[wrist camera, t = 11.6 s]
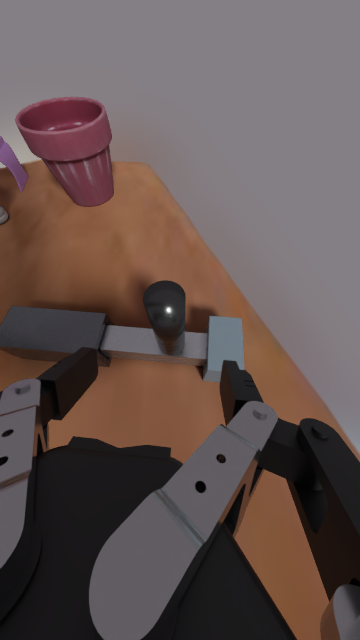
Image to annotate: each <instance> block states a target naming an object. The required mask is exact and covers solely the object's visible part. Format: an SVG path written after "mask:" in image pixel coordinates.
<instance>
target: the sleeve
mask: <svg viewBox="0 0 360 640" xmlns="http://www.w3.org/2000/svg"><path fill="white" fill-rule="evenodd" d="M105 325H113V326H115V325H114V324H113V323H112V321H111V320H110V318H109V317H108V316H107V314H106V313H94V312H82V311H69V310H57V309H45V308H33V307H20V306H11V308H10V310H9V312H8V313H7V315H6V317H5V318H4V320H3V322H2V323H1V325H0V350H2V351H5V352H8V353H10V354H13V355H15V356H18V357H20V358H23V359H33V360H43V361H53V362H59V361H60V360H61V359H63V358H64V357H67V356H69V355H71V354H74V353H75V352H76V351H77V350H79V349H80V348H81V347H89V348H95V349H96V351H97V350H98V347H99V344H100V340H101V337H102V334H103V331H104V328H105ZM111 358H112V357H104V356H103V355H102V354H100V353H99V352H98V351H97V363H98V366H103V367H109V365H110V362H111Z"/></svg>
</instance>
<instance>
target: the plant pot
mask: <svg viewBox="0 0 360 640" xmlns="http://www.w3.org/2000/svg"><path fill="white" fill-rule="evenodd" d="M15 122H16V124H17V127H18V129H19V131H20V133H21V134H22V136H23V138H24V140H25V141H26V143H27V145H28V147H29V149H30V150H31V152H32V153H33V154H34V155H36V156H37V157H39V158H41V159H42V160H43V161H44V163H45V164H46V166H47V167H48V168H49V170H50V171H51V172H52V174H53V175H54V176H55V178H56V179H57V180H58V182H59V183H60V185H61V186H62V187H63V188H64V190H65V191H66V192H67V194H68V195H69V196H70V198H71V199H72V200H73V202H74V203H76V204H77V205H80V206H85V207H91V206H97V205H100V204H103V203H105V202H107V201H108V200H109V199H110V198H111V197H112V196H113V193H114V188H113V176H112V166H111V158H110V149H109V143H110V141H111V139H112V134H111V129H110V125H109V121H108V117H107V114H106V111H105V108H104V106H103V105H102V104H101V103H100V102H98V101H96V100H93V99H90V98H83V97H63V98H54V99H49V100H44V101H40V102H37V103H34V104H32V105H29V106H27V107H26V108H24V109H22V110H21V111H20V112H19V113H18V114H17V116H16V119H15Z"/></svg>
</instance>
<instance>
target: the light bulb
mask: <svg viewBox="0 0 360 640" xmlns="http://www.w3.org/2000/svg"><path fill="white" fill-rule="evenodd" d="M7 219H8V214H7V212H6V211H5V210H4V209H3V208H2V206H0V224H2V223H4V222H5V221H6V220H7Z"/></svg>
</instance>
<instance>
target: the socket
mask: <svg viewBox="0 0 360 640" xmlns="http://www.w3.org/2000/svg"><path fill="white" fill-rule="evenodd" d="M206 334H208V352H207V365H206V366H204V367H203V381H212V382H220V379H221V371H222V364H223V360H231V361H236V362H237V364H238V367H239V369H240V370H244V355H243V335H242V318H230V317H218V316H209V321H208V325H207V329H206Z"/></svg>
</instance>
